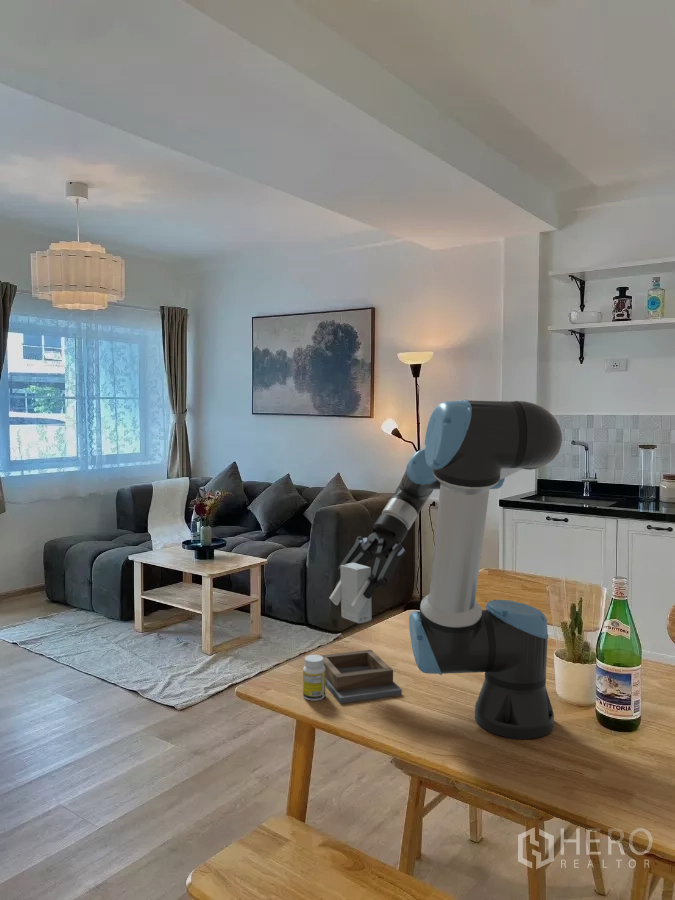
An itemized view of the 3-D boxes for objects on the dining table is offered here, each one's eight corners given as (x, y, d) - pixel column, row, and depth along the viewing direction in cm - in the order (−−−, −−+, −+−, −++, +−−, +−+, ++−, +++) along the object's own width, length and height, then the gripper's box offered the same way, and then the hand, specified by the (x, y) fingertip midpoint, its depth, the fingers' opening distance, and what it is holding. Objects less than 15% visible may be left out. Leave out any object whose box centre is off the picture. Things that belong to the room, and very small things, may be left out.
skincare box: (372, 620, 154) (373, 566, 154) (357, 624, 152) (357, 569, 151) (354, 613, 159) (355, 561, 158) (339, 617, 156) (339, 564, 155)
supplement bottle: (312, 690, 151) (312, 652, 151) (329, 695, 149) (330, 657, 148) (298, 697, 147) (298, 658, 147) (316, 703, 145) (316, 663, 144)
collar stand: (401, 694, 149) (402, 675, 149) (339, 703, 145) (340, 683, 144) (367, 661, 168) (367, 644, 168) (311, 668, 163) (311, 650, 163)
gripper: (434, 538, 158) (384, 624, 148) (372, 526, 172) (323, 605, 161) (419, 517, 154) (367, 605, 144) (357, 507, 168) (306, 586, 157)
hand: (344, 605), depth 153 cm, fingers closed on skincare box, 6 cm apart
